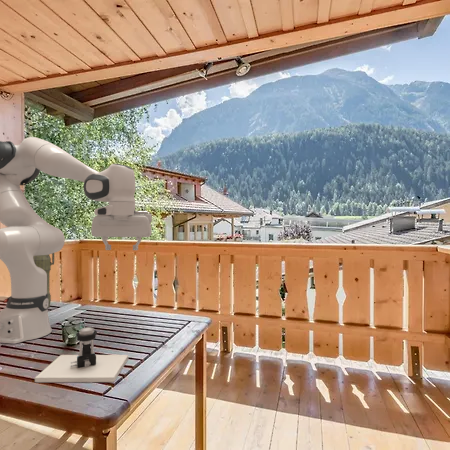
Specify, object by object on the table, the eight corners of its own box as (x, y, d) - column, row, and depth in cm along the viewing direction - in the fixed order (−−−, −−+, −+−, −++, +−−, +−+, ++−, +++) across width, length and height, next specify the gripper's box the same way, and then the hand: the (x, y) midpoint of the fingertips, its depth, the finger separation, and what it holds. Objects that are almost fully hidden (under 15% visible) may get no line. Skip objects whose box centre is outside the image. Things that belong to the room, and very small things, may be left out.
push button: (71, 372, 86) (71, 334, 86) (69, 364, 91) (69, 328, 91) (98, 366, 90) (98, 330, 89) (95, 359, 94) (95, 325, 94)
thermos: (24, 307, 152) (24, 232, 152) (52, 304, 159) (52, 232, 159) (25, 312, 145) (25, 233, 145) (55, 308, 152) (55, 233, 151)
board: (34, 382, 83) (34, 377, 83) (60, 358, 97) (60, 355, 97) (113, 382, 84) (113, 377, 84) (128, 358, 98) (128, 354, 98)
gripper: (153, 211, 117) (153, 249, 117) (96, 210, 117) (96, 249, 117) (150, 210, 111) (149, 251, 111) (89, 209, 110) (89, 250, 111)
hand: (121, 250), depth 114 cm, fingers open, 8 cm apart
